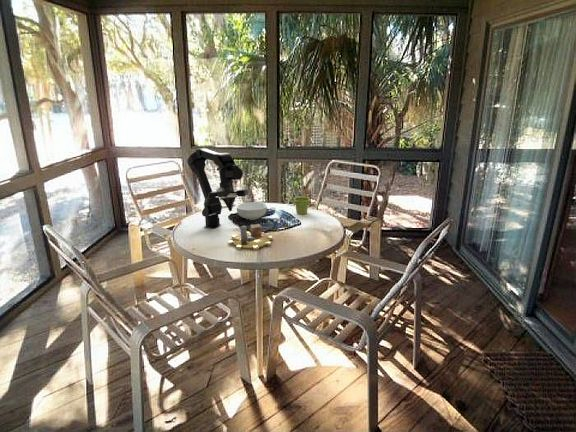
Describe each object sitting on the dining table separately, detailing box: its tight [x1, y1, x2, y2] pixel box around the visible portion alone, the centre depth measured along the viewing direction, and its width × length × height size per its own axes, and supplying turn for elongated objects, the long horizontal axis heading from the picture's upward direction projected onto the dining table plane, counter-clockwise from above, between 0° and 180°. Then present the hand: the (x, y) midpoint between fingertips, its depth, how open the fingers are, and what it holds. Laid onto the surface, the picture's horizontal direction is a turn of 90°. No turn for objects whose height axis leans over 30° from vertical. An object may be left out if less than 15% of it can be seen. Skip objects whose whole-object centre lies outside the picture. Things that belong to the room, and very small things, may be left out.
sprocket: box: [228, 225, 274, 251], centre depth 184 cm, size 21×21×10 cm
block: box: [249, 223, 263, 236], centre depth 190 cm, size 4×4×4 cm
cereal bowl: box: [236, 201, 268, 221], centre depth 220 cm, size 17×17×7 cm
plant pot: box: [293, 196, 311, 215], centre depth 227 cm, size 9×9×9 cm
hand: (230, 211), depth 192 cm, fingers closed
